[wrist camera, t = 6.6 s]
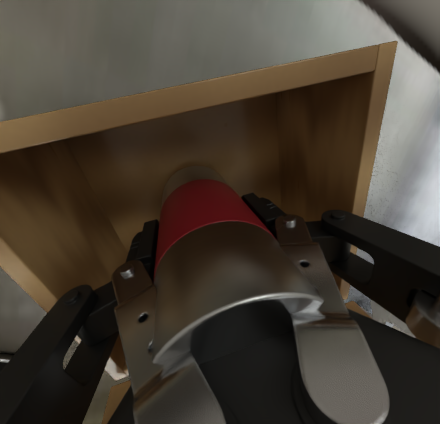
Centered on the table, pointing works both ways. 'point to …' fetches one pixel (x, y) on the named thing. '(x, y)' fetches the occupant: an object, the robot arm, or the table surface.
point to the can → (219, 272)
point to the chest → (184, 162)
